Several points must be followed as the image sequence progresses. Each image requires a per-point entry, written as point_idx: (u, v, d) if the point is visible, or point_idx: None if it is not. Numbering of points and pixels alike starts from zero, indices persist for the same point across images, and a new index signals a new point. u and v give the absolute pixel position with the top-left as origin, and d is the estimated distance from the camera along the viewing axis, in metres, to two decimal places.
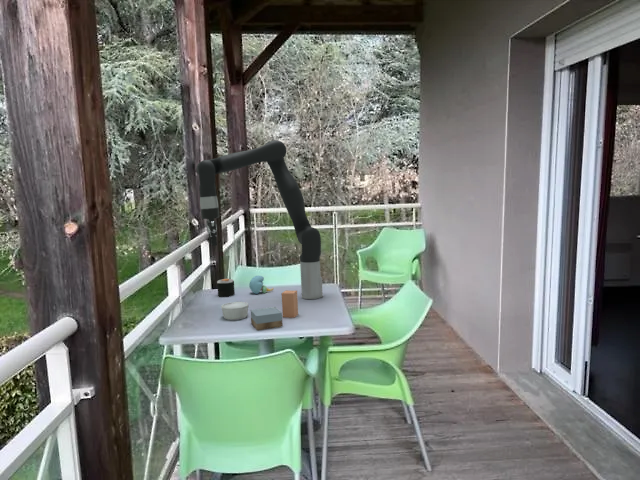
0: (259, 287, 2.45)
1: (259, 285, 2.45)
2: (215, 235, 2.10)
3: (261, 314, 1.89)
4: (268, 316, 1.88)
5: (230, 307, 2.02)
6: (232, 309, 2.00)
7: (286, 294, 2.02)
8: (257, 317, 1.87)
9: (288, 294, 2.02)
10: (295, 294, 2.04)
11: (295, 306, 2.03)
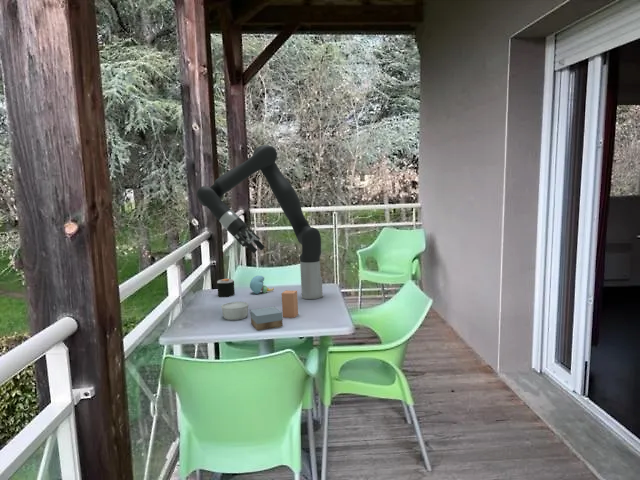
0: (259, 287, 2.45)
1: (259, 285, 2.45)
2: (246, 243, 2.03)
3: (261, 314, 1.89)
4: (268, 316, 1.88)
5: (230, 307, 2.02)
6: (232, 309, 2.00)
7: (286, 294, 2.02)
8: (257, 317, 1.87)
9: (288, 294, 2.02)
10: (295, 294, 2.04)
11: (295, 306, 2.04)
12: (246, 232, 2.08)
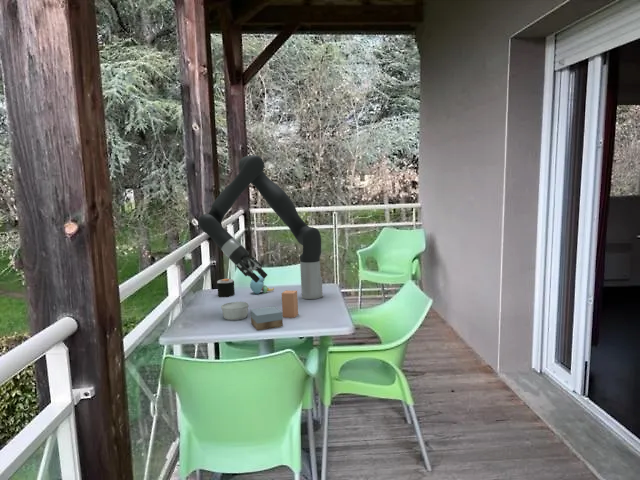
0: (260, 287, 2.45)
1: (260, 285, 2.45)
2: (249, 273, 2.00)
3: (261, 314, 1.89)
4: (268, 315, 1.88)
5: (230, 307, 2.02)
6: (232, 309, 2.00)
7: (286, 294, 2.02)
8: (258, 317, 1.87)
9: (288, 294, 2.02)
10: (295, 294, 2.04)
11: (295, 306, 2.04)
12: (248, 260, 2.06)
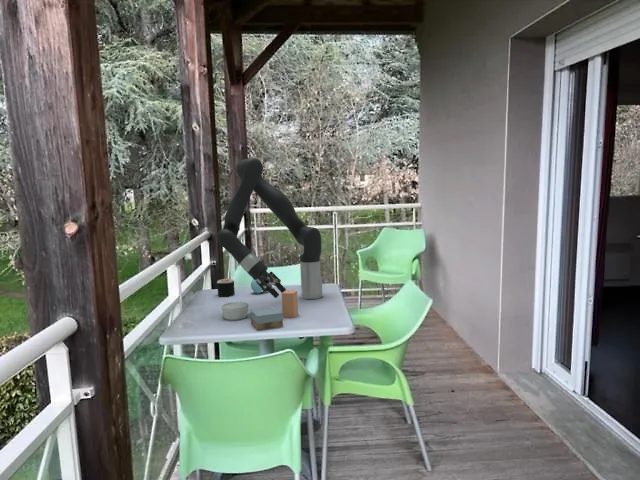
0: None
1: None
2: (268, 288, 1.99)
3: (262, 314, 1.89)
4: (269, 316, 1.88)
5: (230, 307, 2.02)
6: (232, 309, 2.00)
7: (286, 294, 2.02)
8: (258, 317, 1.87)
9: (288, 294, 2.02)
10: (295, 294, 2.04)
11: (295, 306, 2.04)
12: (268, 276, 2.04)
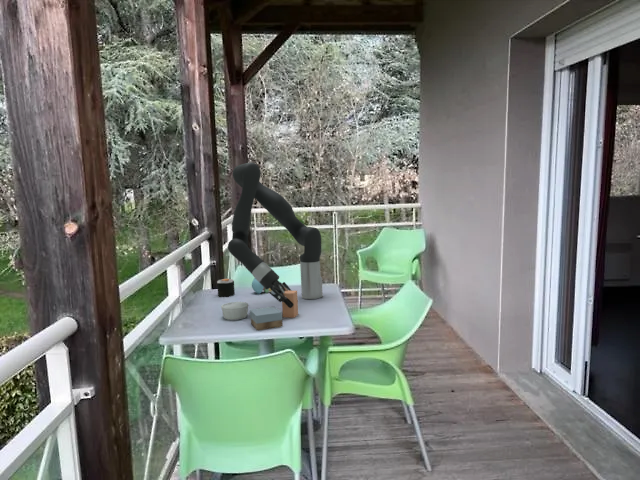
0: (262, 287, 2.45)
1: None
2: (283, 299, 2.00)
3: (261, 314, 1.89)
4: (268, 316, 1.88)
5: (230, 307, 2.02)
6: (232, 309, 2.00)
7: (286, 294, 2.02)
8: (257, 317, 1.87)
9: (288, 294, 2.01)
10: (295, 294, 2.03)
11: (295, 306, 2.03)
12: (279, 285, 2.03)
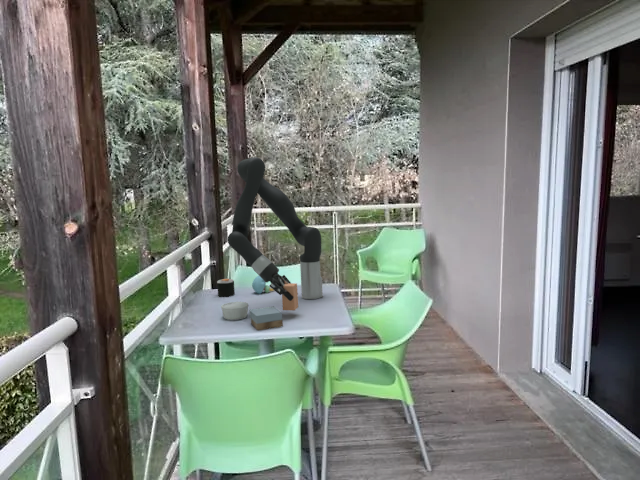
0: (262, 287, 2.45)
1: (262, 285, 2.45)
2: (283, 291, 1.99)
3: (261, 314, 1.89)
4: (268, 316, 1.88)
5: (230, 307, 2.02)
6: (232, 309, 2.00)
7: (286, 287, 2.01)
8: (257, 317, 1.87)
9: (288, 287, 2.01)
10: (295, 287, 2.03)
11: (295, 299, 2.03)
12: (279, 278, 2.03)
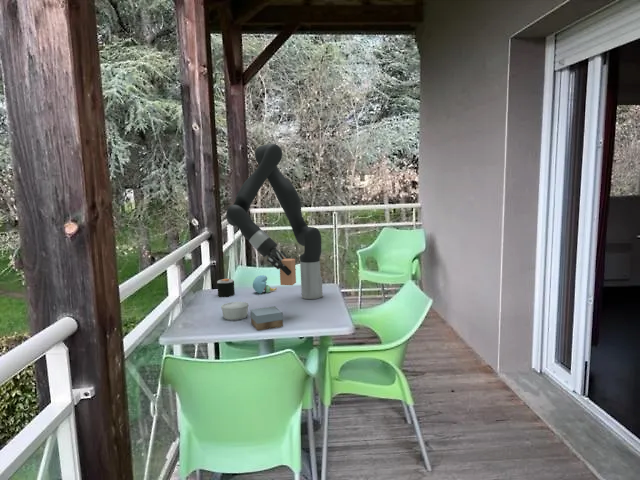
0: (263, 287, 2.45)
1: (263, 285, 2.45)
2: (281, 266, 1.98)
3: (261, 314, 1.89)
4: (268, 316, 1.88)
5: (230, 307, 2.02)
6: (232, 309, 2.00)
7: (284, 261, 2.00)
8: (257, 317, 1.87)
9: (286, 261, 2.00)
10: (293, 262, 2.02)
11: (293, 274, 2.02)
12: (277, 253, 2.01)
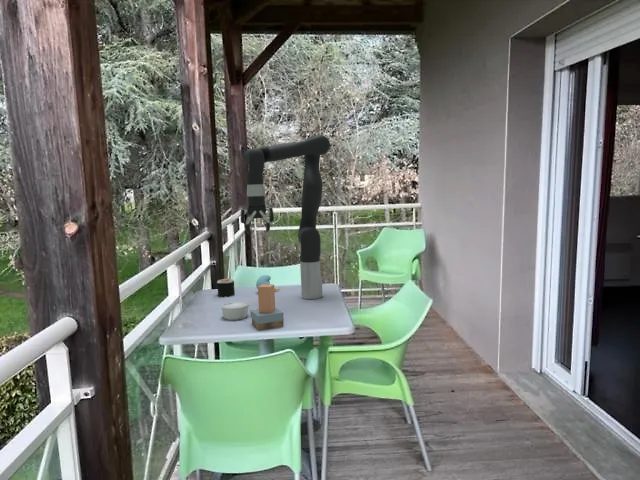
0: None
1: None
2: None
3: (262, 314, 1.88)
4: (269, 316, 1.88)
5: (230, 307, 2.02)
6: (232, 309, 2.00)
7: (263, 288, 1.90)
8: (259, 317, 1.86)
9: (265, 288, 1.89)
10: (272, 288, 1.92)
11: (272, 301, 1.91)
12: (254, 212, 2.15)
